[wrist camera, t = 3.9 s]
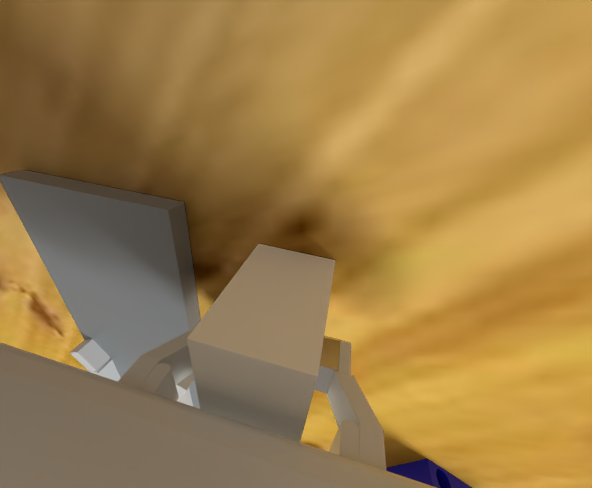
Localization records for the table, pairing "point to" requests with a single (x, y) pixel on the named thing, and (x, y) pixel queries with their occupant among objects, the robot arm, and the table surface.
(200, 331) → the panel block
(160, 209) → the mounting plate
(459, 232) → the table surface
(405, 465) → the cable clip
